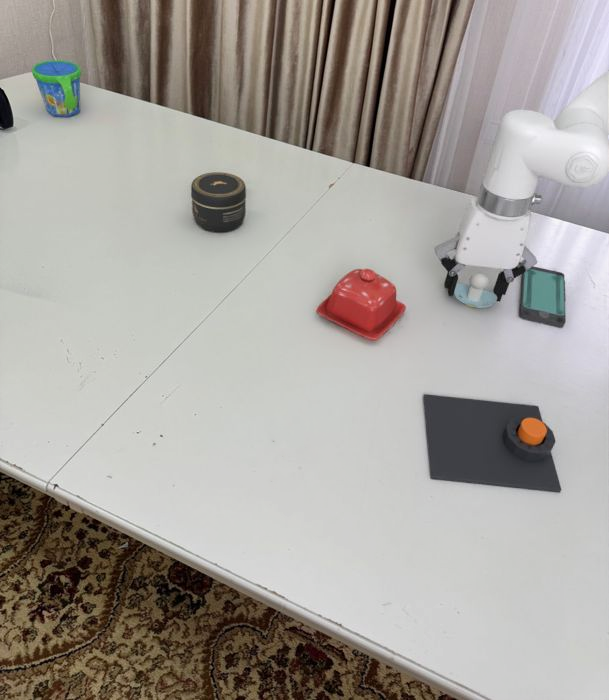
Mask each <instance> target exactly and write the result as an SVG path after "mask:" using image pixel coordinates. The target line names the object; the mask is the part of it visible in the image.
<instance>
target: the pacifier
mask: <svg viewBox="0 0 609 700" xmlns="http://www.w3.org/2000/svg"><path fill="white" fill-rule="evenodd" d="M468 279H469V280H468V281H469V282H468V283H469V285H468V284H465V283H460V282H457V284H456V288H455V291H454V294H453V296H454V297H455V299H456V300H458V301H459V302H461V303H462V304H464V305H465V306H468V307H471V308H479V309H484V308H486V309H487V308H489V307H491V306H493V305H495V304H496V302H497V296H496V294H494V293H493V291H489V290H486V289H485V288H486V287H487V286H488V285H489V279H488V277H487V276H486V275H485V274H483V273H477V272H476V273H473V274H471V275H470V277H469V278H468Z"/></svg>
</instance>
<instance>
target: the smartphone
mask: <svg viewBox="0 0 609 700" xmlns="http://www.w3.org/2000/svg"><path fill="white" fill-rule="evenodd" d="M519 293H520V294H519V309H518V310H519V311H518V317H519V318H520V319H521V320H525V321H529V322H533V323H538V324H541V323H543V324H542V325H547V326H550V327H555V328H559V329H563V328H564V326H565V324H566V322H567V321H566V301H567V300H566V298H567V297H566V280H565V274H564V273H563V272H561V271H557V270H551V269H547V268H542V267H539V266H535V265H534V266H533V267H531V268H530V269H527V270H526V271H525V273H523V274H522V275H521V278H520V292H519Z"/></svg>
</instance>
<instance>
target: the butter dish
mask: <svg viewBox="0 0 609 700" xmlns="http://www.w3.org/2000/svg"><path fill="white" fill-rule="evenodd" d="M406 309H407V306H406V305H405V304H404V303H403V302H401V301H399V300H397V288H396V285H394V283H392V282H391V281H390V280H388V279H387V278H385V277H383V276H382V275H381V274H378V273H376V272H375V270H373V269H370V268H364V269H363V268H357V269H353V270H351V271H349V272H348V273H346V274H345V275H344V276H343V277H342V278H341V279H340V280H339V281H337V283H336V284H335V286H334V287H333V289H332V291H331V293H330V294H329V296H327V297H326V298H325V299H324V300H323V301H322V302H321V303H320V304H319V305H318V306H317V307H316V310H315V311H316V313H317V314H318V315H319V316H320V317H323V318H325V319H327V320H329V321H331V322H333V323H335V324H336V325H339V326H341V327H343V328H345V329H347V330H349V331H351V332H353V333H354V334H357V335H359V336H361V337H363V338H365V339H368V340H371V341H377V340H378V339H380V338H381V337H382V336H383V335H384V334H385V333H386V332H387V331H388V330H389V329H390V328H391V327H392V326H393V325H394V324H395V323H396V321H398V319H400V317H401V316H402V315H403V314H404V312H405V311H406Z"/></svg>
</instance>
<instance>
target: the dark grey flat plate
mask: <svg viewBox="0 0 609 700" xmlns="http://www.w3.org/2000/svg"><path fill="white" fill-rule="evenodd" d="M422 400H423V412H424V423H425V432H426V444H427V455H428V465H429V475H430V480H437V481H443V482H444V481H445V482H454V483H455V482H456V483H463V484H473V485H483V486H491V487H492V486H493V487H502V488H509V489H510V488H512V489H522V490H530V491H531V490H532V491H541V492H549V493H557V494H559V493H561V492H562V486H561V483H560V480H559V476H558V473H557V469H556V464H555V462H554V458H553V454H552V450H553V448H554V446H555V444H556V438H555V434H554V431H553V430H552V429H551V428H550V427H549V426H548V425H547V424H546V423H545V422H544V421H543V418H542V414H541V412H540V407H539V406H538V405H531V404H522V403H512V402H505V401H504V402H502V401H493V400H483V399H473V398H464V397H457V396H456V397H455V396H447V395H437V394H436V395H435V394H427V393H425V394H423V396H422ZM526 418H535V419H538V420H540V421H541V422H542V423H544V425H545V426H546V428H547V433H546V435H545V437H544V439H543V441H542V442H541V443H540V444H538V445H529V444H527V443H525V442H523V441H522V440H521V439H520V438H519V436H518V429H519V427H520V425H521V423H522V421H523V420H524V419H526Z"/></svg>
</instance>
